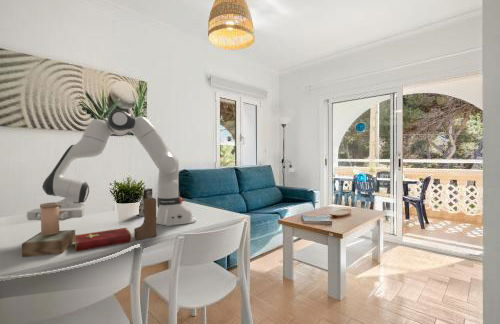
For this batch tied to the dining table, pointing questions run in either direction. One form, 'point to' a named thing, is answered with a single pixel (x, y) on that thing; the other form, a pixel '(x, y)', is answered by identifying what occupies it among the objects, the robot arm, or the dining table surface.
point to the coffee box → (146, 195)
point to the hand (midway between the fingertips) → (49, 217)
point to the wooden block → (147, 221)
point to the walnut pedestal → (48, 243)
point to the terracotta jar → (49, 218)
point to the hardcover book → (102, 239)
